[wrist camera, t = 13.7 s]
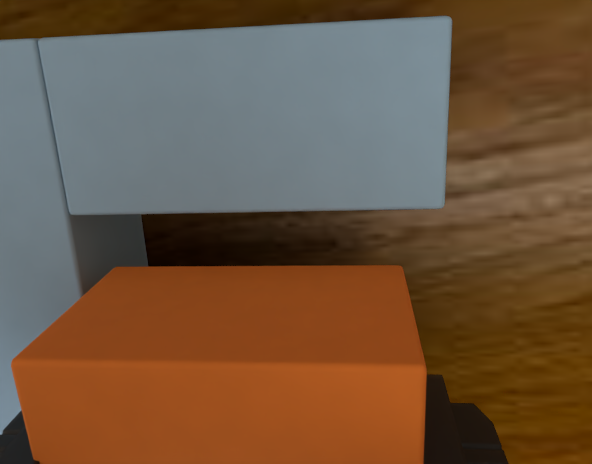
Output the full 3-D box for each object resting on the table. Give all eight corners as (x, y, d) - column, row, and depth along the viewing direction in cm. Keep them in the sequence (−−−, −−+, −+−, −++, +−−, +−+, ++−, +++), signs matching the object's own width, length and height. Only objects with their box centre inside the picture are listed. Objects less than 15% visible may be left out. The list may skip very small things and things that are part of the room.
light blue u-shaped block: (-42, 50, 13) (-177, 49, 10) (424, 25, 12) (454, 14, 8) (63, 509, 17) (-5, 617, 14) (411, 524, 16) (426, 646, 13)
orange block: (114, 264, 11) (5, 361, 7) (403, 263, 10) (428, 367, 7) (150, 492, 12) (76, 652, 9) (398, 501, 12) (416, 678, 8)
